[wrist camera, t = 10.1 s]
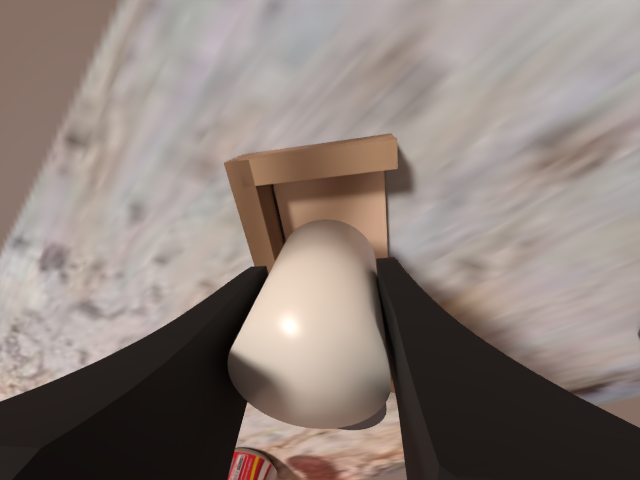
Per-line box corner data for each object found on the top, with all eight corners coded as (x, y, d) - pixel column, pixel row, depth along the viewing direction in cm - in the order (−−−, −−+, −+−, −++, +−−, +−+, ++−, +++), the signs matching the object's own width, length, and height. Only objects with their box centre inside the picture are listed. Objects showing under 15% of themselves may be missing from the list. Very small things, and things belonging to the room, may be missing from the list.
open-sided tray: (390, 133, 13) (397, 138, 11) (397, 363, 20) (401, 392, 18) (242, 154, 14) (223, 162, 12) (297, 363, 21) (291, 390, 19)
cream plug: (381, 294, 12) (399, 428, 7) (295, 304, 13) (258, 429, 8) (367, 211, 10) (377, 309, 5) (269, 228, 11) (200, 327, 6)
